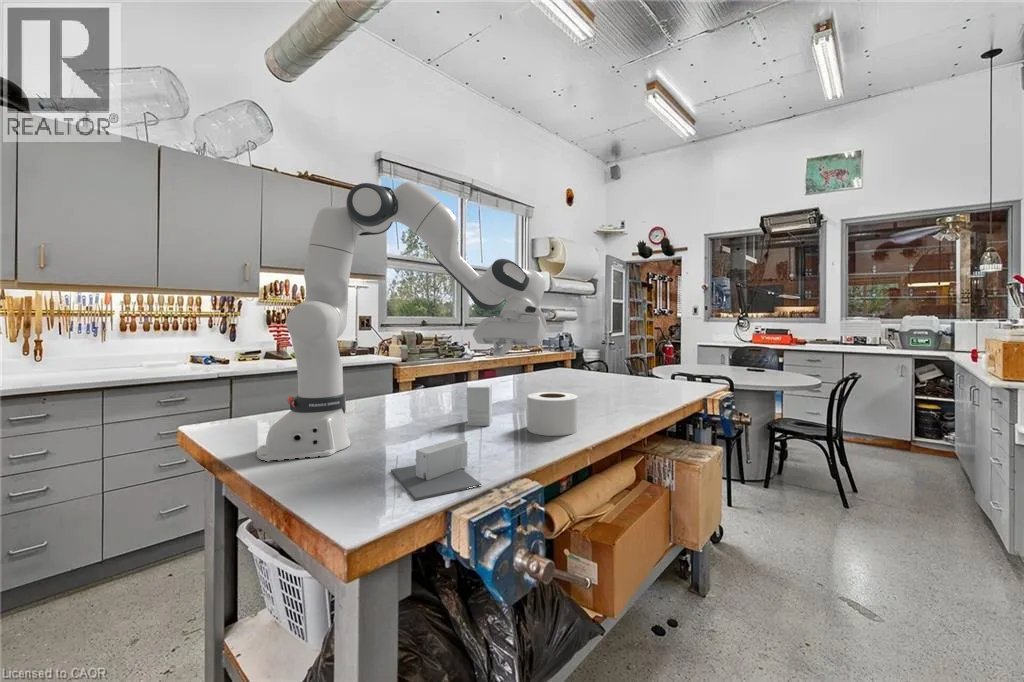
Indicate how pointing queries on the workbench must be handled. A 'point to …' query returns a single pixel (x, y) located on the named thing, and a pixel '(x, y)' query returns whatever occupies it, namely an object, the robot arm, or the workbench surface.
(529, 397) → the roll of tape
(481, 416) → the supplement box
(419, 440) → the workbench surface
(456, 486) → the rubber mat
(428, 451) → the skincare box
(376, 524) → the workbench surface
